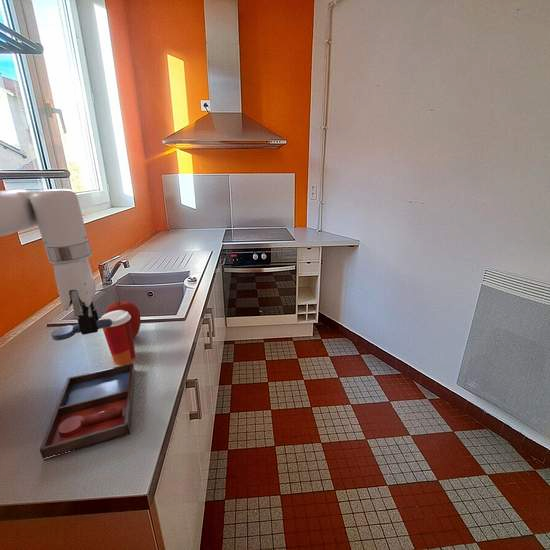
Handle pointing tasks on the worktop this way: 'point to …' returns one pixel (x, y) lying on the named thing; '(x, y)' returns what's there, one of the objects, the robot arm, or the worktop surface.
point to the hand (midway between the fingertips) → (91, 329)
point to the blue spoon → (76, 329)
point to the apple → (130, 309)
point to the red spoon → (86, 421)
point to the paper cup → (120, 337)
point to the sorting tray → (92, 409)
